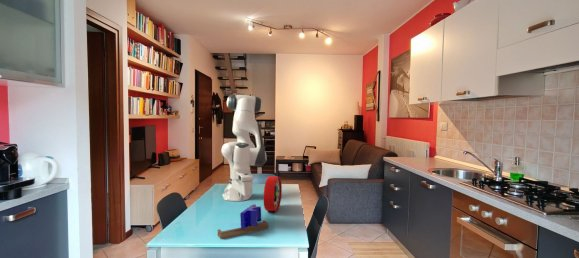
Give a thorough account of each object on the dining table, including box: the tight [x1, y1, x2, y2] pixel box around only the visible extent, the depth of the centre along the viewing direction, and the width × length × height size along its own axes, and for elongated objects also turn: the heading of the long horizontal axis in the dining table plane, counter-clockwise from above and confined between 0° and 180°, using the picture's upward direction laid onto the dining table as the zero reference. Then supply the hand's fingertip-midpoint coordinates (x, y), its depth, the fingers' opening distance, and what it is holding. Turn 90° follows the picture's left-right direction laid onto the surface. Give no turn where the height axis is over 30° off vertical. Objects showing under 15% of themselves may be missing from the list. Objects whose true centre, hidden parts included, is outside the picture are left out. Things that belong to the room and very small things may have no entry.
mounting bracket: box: [239, 204, 263, 229], centre depth 138 cm, size 18×7×6 cm
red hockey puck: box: [262, 175, 283, 212], centre depth 167 cm, size 20×6×20 cm, turn 168°
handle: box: [217, 220, 269, 240], centre depth 133 cm, size 4×24×4 cm, turn 122°
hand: (240, 200), depth 148 cm, fingers closed
